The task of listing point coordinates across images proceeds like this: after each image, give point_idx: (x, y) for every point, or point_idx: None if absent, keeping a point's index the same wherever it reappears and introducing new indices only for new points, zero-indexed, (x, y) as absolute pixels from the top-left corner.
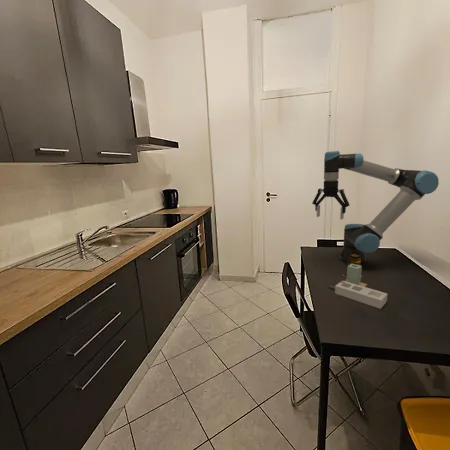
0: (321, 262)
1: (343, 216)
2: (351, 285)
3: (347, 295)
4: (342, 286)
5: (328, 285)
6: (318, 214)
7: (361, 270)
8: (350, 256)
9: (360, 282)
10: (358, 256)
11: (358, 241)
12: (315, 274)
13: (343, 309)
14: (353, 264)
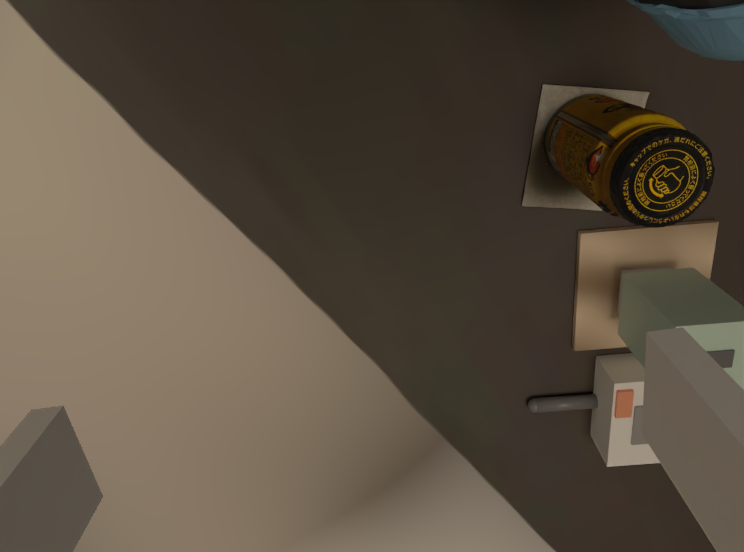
0: (257, 70)
1: (711, 362)
2: None
3: None
4: (643, 448)
5: (535, 412)
6: (65, 513)
7: (737, 302)
8: (630, 220)
9: (673, 231)
10: (703, 185)
11: (728, 57)
12: (374, 311)
13: (679, 520)
14: (694, 335)
